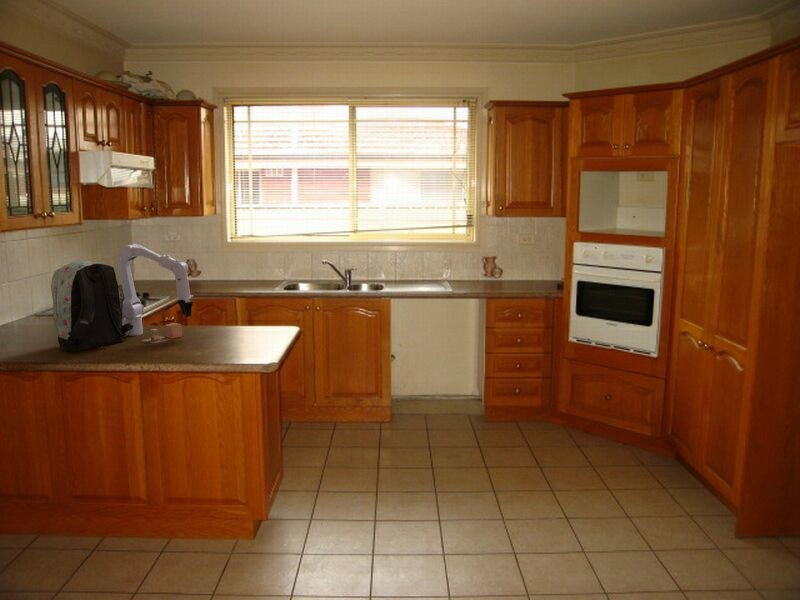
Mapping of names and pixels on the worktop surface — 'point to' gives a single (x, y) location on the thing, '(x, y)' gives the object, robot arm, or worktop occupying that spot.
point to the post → (154, 334)
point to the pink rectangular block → (174, 330)
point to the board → (157, 340)
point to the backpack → (87, 306)
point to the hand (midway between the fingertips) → (187, 315)
